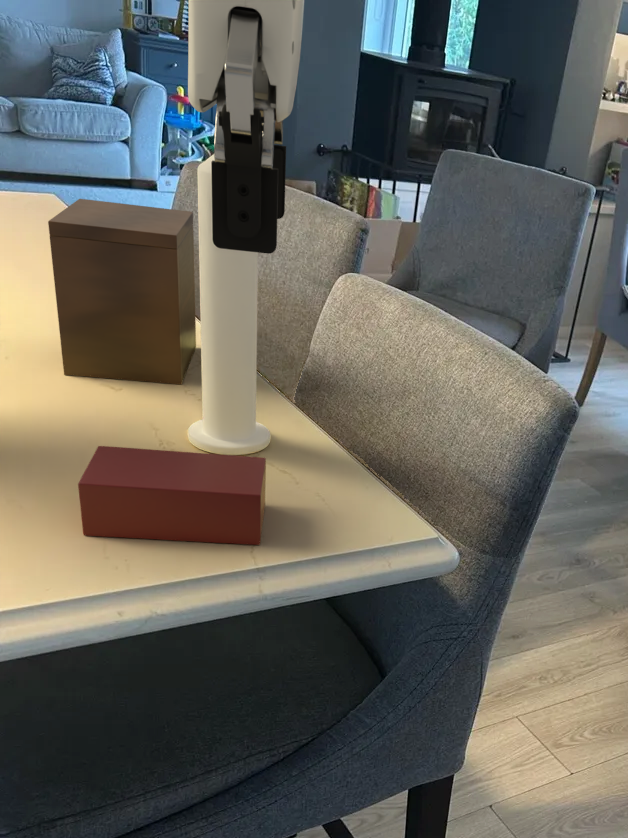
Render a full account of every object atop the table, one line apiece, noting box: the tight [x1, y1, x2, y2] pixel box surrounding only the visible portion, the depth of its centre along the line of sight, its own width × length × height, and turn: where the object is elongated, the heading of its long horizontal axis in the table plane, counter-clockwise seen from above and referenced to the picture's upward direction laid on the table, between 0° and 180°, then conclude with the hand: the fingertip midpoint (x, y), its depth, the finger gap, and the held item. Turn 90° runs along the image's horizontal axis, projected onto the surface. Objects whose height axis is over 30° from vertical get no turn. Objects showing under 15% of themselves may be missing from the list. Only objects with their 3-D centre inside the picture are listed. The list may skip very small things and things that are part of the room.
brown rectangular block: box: [47, 198, 197, 385], centre depth 88 cm, size 11×12×14 cm
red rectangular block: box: [77, 445, 267, 546], centre depth 64 cm, size 6×12×4 cm, turn 97°
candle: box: [187, 153, 271, 456], centre depth 71 cm, size 7×7×25 cm
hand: (251, 231), depth 50 cm, fingers open, 9 cm apart
